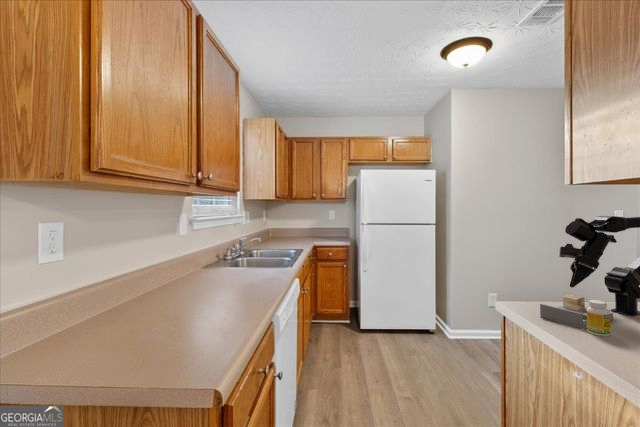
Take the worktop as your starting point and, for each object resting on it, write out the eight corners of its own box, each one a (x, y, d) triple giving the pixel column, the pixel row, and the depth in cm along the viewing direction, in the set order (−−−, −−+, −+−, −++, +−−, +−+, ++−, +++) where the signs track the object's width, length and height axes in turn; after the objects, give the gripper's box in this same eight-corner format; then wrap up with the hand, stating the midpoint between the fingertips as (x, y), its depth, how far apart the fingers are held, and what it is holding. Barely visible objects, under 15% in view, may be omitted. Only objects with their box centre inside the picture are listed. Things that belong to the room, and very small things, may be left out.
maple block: (570, 305, 116) (570, 294, 116) (584, 308, 112) (584, 297, 112) (563, 307, 114) (562, 296, 114) (577, 310, 110) (576, 299, 110)
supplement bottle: (590, 328, 99) (589, 298, 99) (613, 333, 94) (612, 301, 94) (584, 332, 96) (583, 301, 96) (607, 338, 91) (606, 305, 91)
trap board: (571, 309, 118) (571, 297, 118) (613, 319, 106) (612, 305, 106) (540, 316, 110) (540, 304, 110) (581, 328, 99) (581, 314, 99)
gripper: (565, 243, 125) (546, 277, 125) (569, 232, 110) (547, 271, 110) (600, 256, 118) (579, 292, 118) (609, 246, 103) (586, 288, 103)
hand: (572, 285), depth 113 cm, fingers open, 9 cm apart
